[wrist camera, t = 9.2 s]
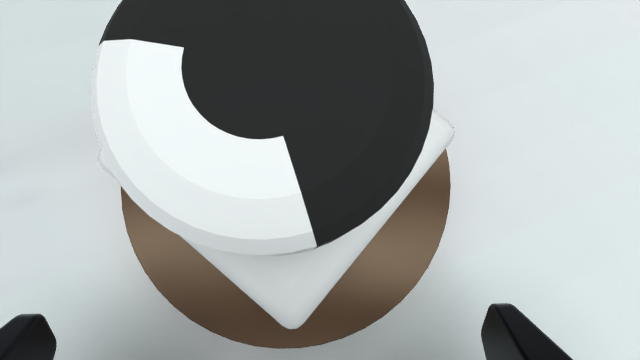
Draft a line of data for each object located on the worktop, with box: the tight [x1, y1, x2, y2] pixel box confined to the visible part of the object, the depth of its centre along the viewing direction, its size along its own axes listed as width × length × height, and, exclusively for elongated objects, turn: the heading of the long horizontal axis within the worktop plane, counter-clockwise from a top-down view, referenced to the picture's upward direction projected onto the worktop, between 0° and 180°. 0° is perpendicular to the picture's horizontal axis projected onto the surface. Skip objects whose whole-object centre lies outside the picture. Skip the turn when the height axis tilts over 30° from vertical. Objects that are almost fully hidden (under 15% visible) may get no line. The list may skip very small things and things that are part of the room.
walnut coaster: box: [121, 148, 450, 348], centre depth 19 cm, size 14×14×1 cm
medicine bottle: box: [91, 0, 454, 329], centre depth 13 cm, size 7×7×12 cm
